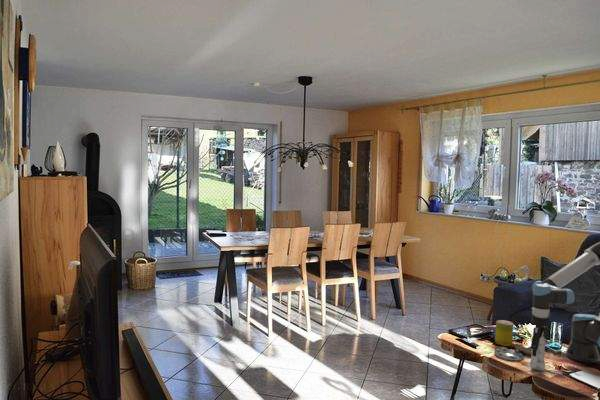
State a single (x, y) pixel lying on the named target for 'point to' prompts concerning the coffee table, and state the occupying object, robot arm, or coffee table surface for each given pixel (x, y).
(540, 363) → the plastic bottle
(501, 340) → the yellow cylinder
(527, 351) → the grey rectangular block
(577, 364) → the coffee table surface
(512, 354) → the flange
